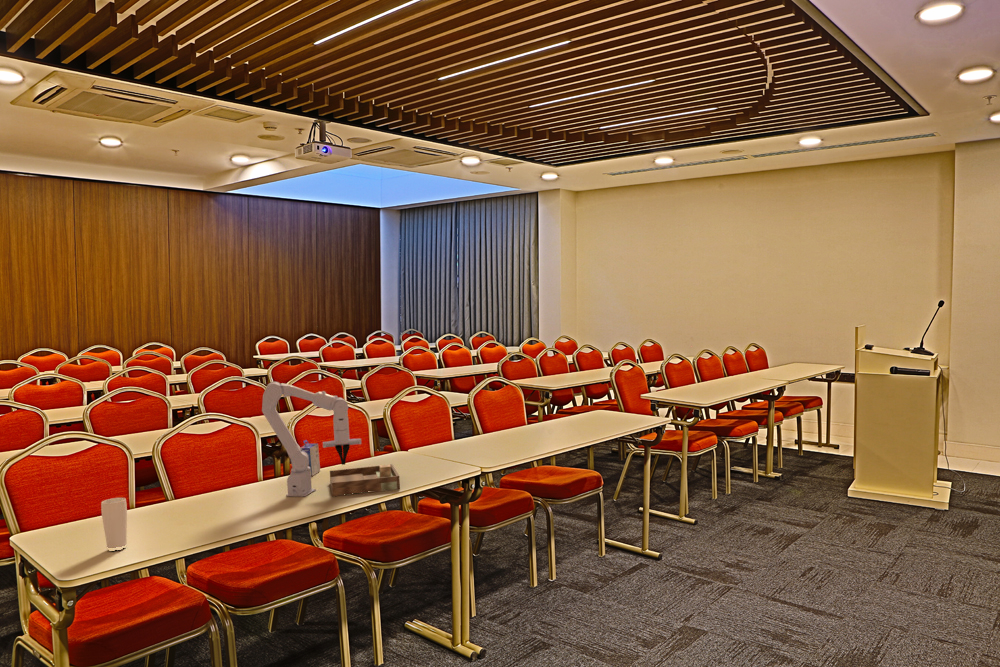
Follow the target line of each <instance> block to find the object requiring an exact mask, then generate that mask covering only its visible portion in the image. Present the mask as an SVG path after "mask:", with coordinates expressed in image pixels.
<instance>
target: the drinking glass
mask: <svg viewBox="0 0 1000 667" xmlns="http://www.w3.org/2000/svg"><path fill="white" fill-rule="evenodd" d="M127 504H128V503H127V499H126V497H113V498H108V499H105V500H102V501H101V504H100V508H101V509H100V510H101V519H102V525H103V529H104V530H103V531H104V536H105V537H104V538H105V542H106V548H107V547H108V548H116V547H122V546H125V545H126V544H127V545H128V542H127V540H128V539H127V538H128V536H127V534H128V530H127V527H128V508H127V506H128V505H127Z"/></svg>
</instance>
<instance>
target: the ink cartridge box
mask: <svg viewBox="0 0 1000 667" xmlns="http://www.w3.org/2000/svg"><path fill="white" fill-rule="evenodd" d="M303 444H304V445H303V446H301V447H300V448H301V449H302V450H303V451H305V452H306V453H307V454H308V457H309V465H308V466H309V467H310V469H311V477H313V476H315V475H316V474H318V473H319V472H320V471H321V465H320V452H319V451H320V450H319V443H309V441H308V440H307V439H305V440H303Z"/></svg>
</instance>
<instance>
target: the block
mask: <svg viewBox="0 0 1000 667" xmlns="http://www.w3.org/2000/svg"><path fill="white" fill-rule="evenodd" d="M378 466H379V469H380V477H390V476H391V466H390V464H380V465H378Z"/></svg>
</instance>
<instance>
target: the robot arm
mask: <svg viewBox="0 0 1000 667" xmlns="http://www.w3.org/2000/svg"><path fill="white" fill-rule="evenodd" d="M282 396H283V398H287V397H296V398H299V399H302V400H306V401H310V402H312V404H313V406H315V407H316V408H320V409H323V410H327V411H333V418H332V419H333V436H334V437H333V438H334V440H329V441H322V448H324V449H326V448H331V447H332V448H333V447H334V448H335V450H336V451H337V454H338V457H339V459H340V463H341V465H342V466H344V465H346V461H347V455H348V453H349V450H350V448H351V446H353V445H362V438H350V425H349V424H350V423H349V421H350V420H349V416H348V414H349V413H348V410H349V404H348V403H347V402H348V401H347V400H345V399H344V398H343V397H341V396H340V397H338V395H332V394H331V395H330V394H328V393H327V392H326V391H325V390H322V391H318V392H315V393H314V392H312V391H308V390H305V389H303V388H300V387H297V386H295V385H292V384H288V383H283V382H282V383H280V382H279V381H271V382H269V383H268V384H267V385H266V388H265V389H264V392H263V395H262V403H261V405H262V407H261V412H262V414H263V415H264V417H265V419H266V420H267V422H268V423H269V424H268V425H270V427H271V428H272V430H273V431H274V433H275V435H276V437H277V438H278V439H279V441H280V443H281V444H282V447H284V449H285V450H286V453H287V455H288V457H289V459H290V462H291V467H292V468H291V469H290V474H289V475H288V477H287V479H286V483H287V484H286V486H287V494H285V496H286V497H306V496H309V495H310V494H312V493H314V492H316V490H317V489H316V488H312V476H311V469H310V467H309V466H308V465H309V457H308V454H307V453H306V452H305V451H303V450H302V449H301V447H300V445H299V444H298V443H297V441H296V439H295V438H294V436H293V434H292V433H291V431H290V429H289V428H288V426H287V424H285V421H284V420H283V419H282V416H281V415H280V413H279V412H278V411H277V405H278V402H279V400H280V399H281V398H282Z"/></svg>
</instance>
